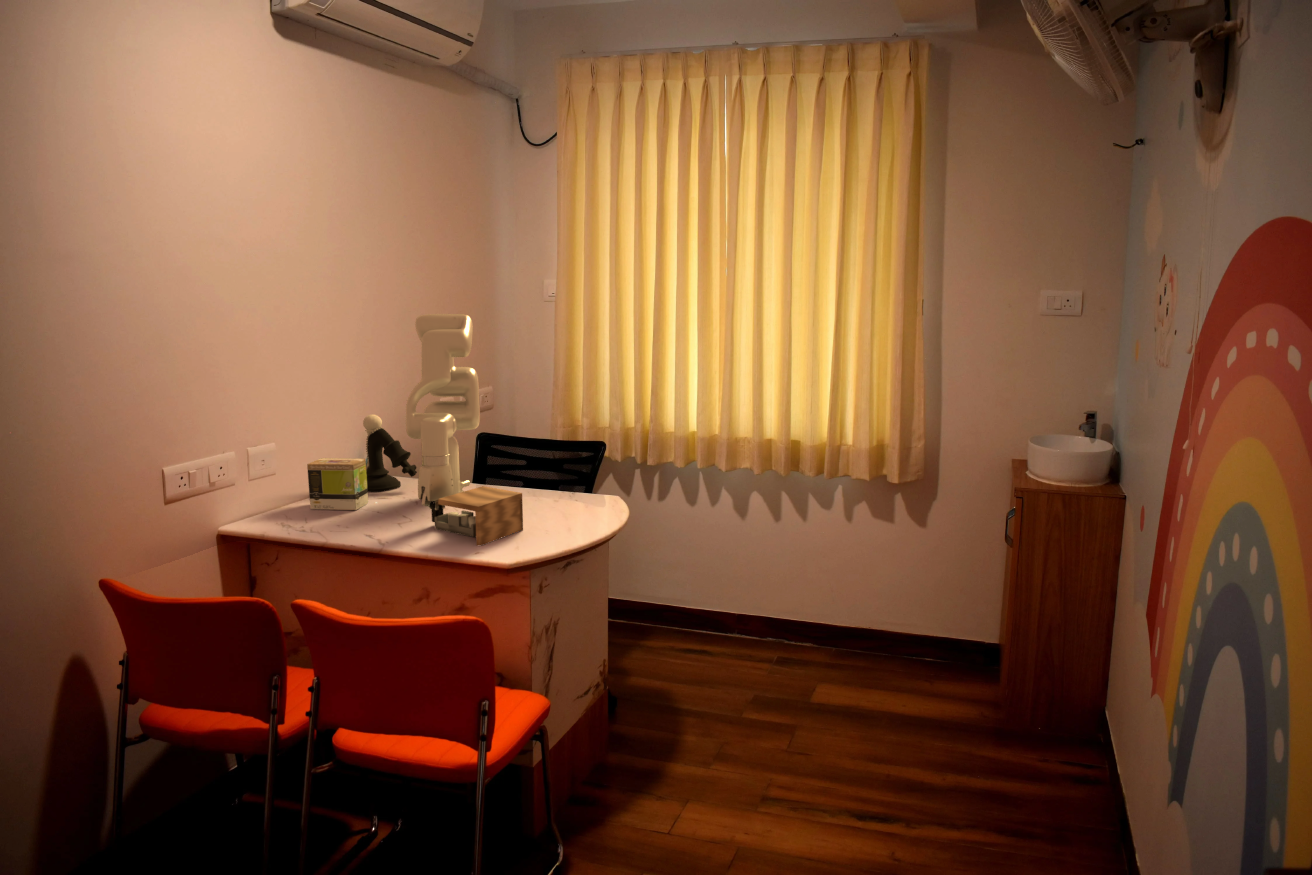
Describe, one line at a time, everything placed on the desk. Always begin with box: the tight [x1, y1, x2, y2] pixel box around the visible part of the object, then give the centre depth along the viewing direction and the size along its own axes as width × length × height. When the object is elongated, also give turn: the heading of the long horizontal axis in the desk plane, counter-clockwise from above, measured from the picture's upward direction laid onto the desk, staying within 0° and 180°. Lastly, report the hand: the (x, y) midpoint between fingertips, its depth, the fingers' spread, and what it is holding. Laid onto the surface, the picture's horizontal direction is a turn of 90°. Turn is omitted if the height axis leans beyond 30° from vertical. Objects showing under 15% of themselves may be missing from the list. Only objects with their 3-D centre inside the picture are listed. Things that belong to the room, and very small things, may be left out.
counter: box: [438, 485, 524, 546], centre depth 258 cm, size 18×15×11 cm
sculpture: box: [362, 414, 418, 493], centre depth 309 cm, size 15×24×25 cm, turn 68°
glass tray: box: [434, 509, 476, 538], centre depth 261 cm, size 6×15×5 cm, turn 58°
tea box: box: [306, 457, 369, 511], centre depth 286 cm, size 15×10×15 cm, turn 84°
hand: (437, 521), depth 266 cm, fingers closed
